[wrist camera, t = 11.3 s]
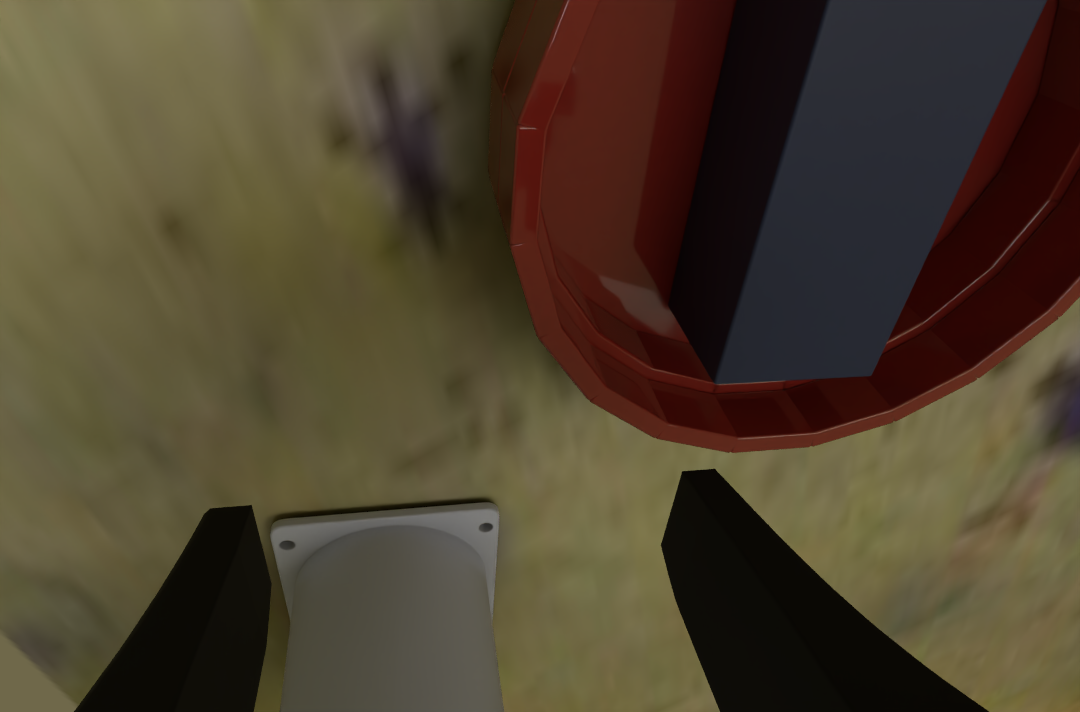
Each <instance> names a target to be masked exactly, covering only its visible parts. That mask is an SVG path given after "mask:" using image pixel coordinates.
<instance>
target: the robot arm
mask: <svg viewBox="0 0 1080 712" xmlns="http://www.w3.org/2000/svg"><path fill="white" fill-rule="evenodd" d="M499 517H500V516H499V510H498V507H497V506H496V505H495V504H493V503H490V502H481V503H469V504H457V505H445V506H433V507H421V508H408V509H396V510H384V511H372V512H360V513H348V514H336V515H324V516H312V517H299V518H287V519H281V520H278V521H276V522H274V523H273V525H272V526H271V532H270V538H271V542H272V546H273V551H274V555H275V559H276V563H277V567H278V571H279V576H280V580H281V584H282V588H283V592H284V597H285V601H286V605H287V609H288V613H289V617H290V630H289V639H288V647H287V656H286V664H285V673H284V681H283V690H282V698H281V706H280V712H504V707H503V700H502V692H501V685H500V678H499V670H498V663H497V655H496V648H495V640H494V633H493V625H492V621H493V606H494V591H495V576H496V561H497V547H498V532H499ZM484 523H486V524H484ZM661 547H662V551H663V555H664V559H665V563H666V567H667V571H668V575H669V578H670V582H671V586H672V589H673V593H674V596H675V600H676V602H677V605H678V608H679V610H680V613H681V615H682V618H683V620H684V623H685V626H686V628H687V631H688V633H689V636H690V638H691V641H692V643H693V646H694V648H695V651H696V653H697V656H698V658H699V661H700V663H701V666H702V668H703V670H704V673H705V675H706V678H707V680H708V683H709V685H710V688H711V690H712V693H713V695H714V698H715V700H716V703H717V705H718V708H719V710H720V712H989V711H987V710H986V709H984V708H983V707H982V706H980V705H979V704H977V703H976V702H975V701H973V700H972V699H970V698H969V697H967V696H966V695H965V694H963V693H962V692H960V691H959V690H957V689H956V688H955V687H953V686H952V685H950V684H949V683H948V682H946V681H945V680H943V679H942V678H941V677H939V676H938V675H937V674H935V673H934V672H933V671H931V670H930V669H929V668H927V667H926V666H925V665H923V664H922V663H921V662H919V661H918V660H917V659H916V658H914V657H913V656H912V655H911V654H909V653H908V652H907V651H906V650H904V649H903V648H902V647H901V646H899V645H898V644H897V643H896V642H894V641H893V640H892V639H890V638H889V637H888V636H887V635H885V634H884V633H883V632H882V631H881V630H879V629H878V628H877V627H876V626H875V625H873V624H872V623H871V622H870V621H869V620H867V619H866V618H865V617H864V616H863V615H862V614H861V613H859V612H858V611H857V610H856V609H855V608H854V607H853V606H852V605H851V604H849V603H848V602H847V601H846V600H845V599H844V598H843V597H842V596H840V595H839V594H838V593H837V592H836V591H835V590H834V589H833V588H832V587H831V586H830V585H828V584H827V583H826V582H825V581H824V580H823V579H822V578H821V577H820V576H819V575H818V574H817V573H816V572H815V571H814V570H813V569H812V568H811V567H810V566H809V565H808V564H807V563H806V562H805V561H804V560H803V559H802V558H801V557H799V556H798V555H797V554H796V553H795V552H794V551H793V550H792V549H791V548H790V547H789V546H788V545H787V544H786V543H785V542H784V541H783V540H782V539H781V538H780V537H779V536H778V535H777V534H776V533H775V531H774V530H773V529H772V528H771V527H770V526H769V525H768V524H767V523H766V522H765V521H764V520H763V519H762V518H761V517H760V516H759V515H758V514H757V513H756V512H755V511H754V510H753V509H752V508H751V506H750V505H749V504H748V503H747V502H746V501H745V500H744V499H743V498H742V497H741V496H740V495H739V494H738V493H737V492H736V491H735V490H734V489H733V488H732V486H731V485H730V484H729V483H728V482H727V481H726V480H725V479H724V478H723V477H722V476H721V475H720V474H719V473H718V472H717V471H716V470H715V469H708V470H695V471H682V475H681V478H680V481H679V485H678V488H677V492H676V495H675V499H674V502H673V506H672V509H671V512H670V516H669V519H668V523H667V526H666V530H665V533H664V537H663V540H662V543H661ZM270 597H271V580H270V576H269V572H268V568H267V564H266V560H265V556H264V552H263V548H262V544H261V540H260V536H259V532H258V528H257V524H256V521H255V517H254V513H253V509H252V505H249V506H236V507H223V508H210V509H209V510H208V511H207V512H206V513H205V514H204V515H203V517H202V519H201V521H200V523H199V524H198V526H197V528H196V530H195V532H194V533H193V535H192V537H191V539H190V540H189V542H188V544H187V545H186V547H185V549H184V551H183V552H182V554H181V556H180V557H179V559H178V561H177V562H176V564H175V566H174V567H173V569H172V571H171V572H170V574H169V575H168V577H167V579H166V580H165V582H164V583H163V585H162V587H161V588H160V590H159V591H158V593H157V595H156V596H155V598H154V599H153V601H152V602H151V604H150V605H149V607H148V608H147V610H146V611H145V613H144V614H143V616H142V617H141V619H140V620H139V622H138V623H137V625H136V626H135V628H134V629H133V631H132V632H131V634H130V635H129V637H128V638H127V640H126V641H125V643H124V644H123V646H122V647H121V648H120V650H119V651H118V653H117V654H116V655H115V657H114V658H113V659H112V661H111V662H110V664H109V665H108V666H107V668H106V669H105V670H104V672H103V673H102V675H101V676H100V677H99V679H98V680H97V681H96V683H95V684H94V685H93V687H92V688H91V690H90V691H89V692H88V694H87V695H86V696H85V698H84V699H83V701H82V702H81V703H80V705H79V706H78V707H77V708H76V710H75V711H74V712H254V707H255V702H256V697H257V692H258V687H259V682H260V676H261V671H262V666H263V661H264V656H265V651H266V644H267V633H268V622H269V610H270Z"/></svg>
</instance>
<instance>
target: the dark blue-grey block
mask: <svg viewBox="0 0 1080 712" xmlns="http://www.w3.org/2000/svg"><path fill="white" fill-rule="evenodd" d="M1046 2H1047V0H737V2H736V7H735V11H734V16H733V20H732V24H731V29H730V33H729V38H728V42H727V47H726V51H725V56H724V60H723V64H722V69H721V73H720V78H719V82H718V87H717V91H716V95H715V100H714V104H713V109H712V113H711V118H710V122H709V126H708V131H707V135H706V140H705V144H704V149H703V153H702V157H701V162H700V166H699V171H698V175H697V180H696V184H695V188H694V193H693V197H692V202H691V206H690V211H689V215H688V219H687V224H686V228H685V233H684V237H683V242H682V246H681V250H680V255H679V259H678V264H677V268H676V273H675V277H674V281H673V286H672V290H671V295H670V299H669V304H668V306H669V308H670V310H671V312H672V313H673V315H674V317H675V318H676V320H677V322H678V324H679V325H680V327H681V329H682V330H683V332H684V334H685V335H686V337H687V339H688V341H689V342H690V344H691V346H692V347H693V349H694V351H695V352H696V354H697V356H698V358H699V359H700V361H701V363H702V364H703V366H704V368H705V369H706V371H707V373H708V375H709V376H710V378H711V380H712V381H713V383H714V384H734V383H753V382H771V381H790V380H808V379H827V378H846V377H864V376H871V375H872V373H873V371H874V369H875V367H876V365H877V363H878V361H879V358H880V356H881V354H882V352H883V350H884V348H885V346H886V344H887V341H888V339H889V337H890V335H891V333H892V331H893V329H894V326H895V324H896V322H897V320H898V318H899V316H900V314H901V311H902V309H903V307H904V305H905V303H906V301H907V299H908V297H909V294H910V292H911V290H912V288H913V286H914V284H915V282H916V279H917V277H918V275H919V273H920V271H921V269H922V267H923V265H924V262H925V260H926V258H927V256H928V254H929V252H930V250H931V247H932V245H933V243H934V241H935V239H936V237H937V235H938V232H939V230H940V228H941V226H942V224H943V222H944V220H945V218H946V215H947V213H948V211H949V209H950V207H951V205H952V203H953V200H954V198H955V196H956V194H957V192H958V190H959V188H960V186H961V183H962V181H963V179H964V177H965V175H966V173H967V171H968V168H969V166H970V164H971V162H972V160H973V158H974V156H975V153H976V151H977V149H978V147H979V145H980V143H981V141H982V139H983V136H984V134H985V132H986V130H987V128H988V126H989V124H990V121H991V119H992V117H993V115H994V113H995V111H996V109H997V107H998V104H999V102H1000V100H1001V98H1002V96H1003V94H1004V92H1005V89H1006V87H1007V85H1008V83H1009V81H1010V79H1011V77H1012V74H1013V72H1014V70H1015V68H1016V66H1017V64H1018V62H1019V60H1020V57H1021V55H1022V53H1023V51H1024V49H1025V47H1026V45H1027V42H1028V40H1029V38H1030V36H1031V34H1032V32H1033V30H1034V28H1035V25H1036V23H1037V21H1038V19H1039V17H1040V15H1041V13H1042V10H1043V8H1044V6H1045V4H1046Z"/></svg>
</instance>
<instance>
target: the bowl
mask: <svg viewBox="0 0 1080 712" xmlns="http://www.w3.org/2000/svg"><path fill="white" fill-rule="evenodd" d="M736 2H737V0H515V2H514V5H513V8H512V11H511V14H510V17H509V20H508V22H507V25H506V28H505V31H504V34H503V37H502V40H501V43H500V45H499V48H498V51H497V54H496V57H495V60H494V63H493V69H492V71H491V99H490V127H489V155H488V173H489V178H490V182H491V185H492V189H493V192H494V195H495V199H496V202H497V205H498V209H499V212H500V216H501V219H502V222H503V226H504V229H505V233H506V236H507V239H508V243H509V246H510V250H511V253H512V256H513V259H514V263H515V266H516V269H517V273H518V276H519V279H520V283H521V286H522V289H523V293H524V296H525V299H526V303H527V306H528V309H529V312H530V316H531V319H532V322H533V326H534V329H535V332H536V336H537V337H538V339H539V340H540V341H541V343H542V344H543V345H544V346H545V348H546V349H547V350H548V351H549V353H550V354H551V355H552V356H553V357H554V359H555V360H556V361H557V362H558V364H559V365H560V366H561V367H562V369H563V370H564V371H565V372H566V374H567V375H568V376H569V377H570V378H571V380H572V381H573V382H574V383H575V385H576V386H577V387H578V388H579V390H580V391H581V392H582V393H583V395H584V396H585V397H586V398H587V399H588V400H590V402H591V403H593V404H595V405H597V406H599V407H600V408H602V409H604V410H606V411H607V412H609V413H611V414H613V415H614V416H616V417H618V418H620V419H622V420H623V421H625V422H627V423H629V424H630V425H632V426H634V427H636V428H637V429H639V430H641V431H643V432H645V433H646V434H648V435H650V436H652V437H653V438H657V439H660V440H665V441H671V442H676V443H681V444H686V445H691V446H697V447H702V448H707V449H712V450H718V451H723V452H728V453H729V452H732V453H737V452H751V451H764V450H778V449H791V448H805V447H810V446H816V445H820V444H823V443H826V442H830V441H833V440H836V439H840V438H843V437H846V436H850V435H853V434H856V433H860V432H863V431H866V430H870V429H873V428H877V427H880V426H883V425H887V424H890V423H892V422H893V421H898V420H900V419H902V418H904V417H906V416H907V415H909V414H911V413H913V412H915V411H917V410H919V409H921V408H923V407H925V406H927V405H929V404H931V403H933V402H935V401H937V400H939V399H941V398H942V397H944V396H946V395H948V394H950V393H952V392H954V391H956V390H958V389H960V388H962V387H964V386H966V385H968V384H970V383H972V382H974V381H976V380H977V378H980V377H981V376H983V375H984V374H985V373H987V372H988V371H989V370H991V369H992V368H993V367H995V366H996V365H997V364H999V363H1000V362H1001V361H1003V360H1004V359H1005V358H1007V357H1008V356H1009V355H1011V354H1012V353H1013V352H1015V351H1016V350H1017V349H1019V348H1020V347H1021V346H1023V345H1024V344H1025V343H1027V342H1028V341H1029V340H1031V339H1032V338H1033V337H1035V336H1036V335H1037V334H1039V333H1040V332H1041V331H1043V330H1044V329H1045V328H1047V327H1048V326H1049V325H1051V324H1052V323H1053V322H1055V321H1056V320H1057V319H1058V317H1060V316H1062V315H1063V314H1064V313H1065V312H1066V311H1067V310H1068V309H1069V308H1070V306H1071V305H1072V304H1073V303H1074V302H1075V301H1076V300H1077V299H1078V298H1079V297H1080V0H1047V2H1046V4H1045V6H1044V8H1043V10H1042V13H1041V15H1040V17H1039V19H1038V21H1037V23H1036V25H1035V28H1034V30H1033V32H1032V34H1031V36H1030V38H1029V40H1028V42H1027V45H1026V47H1025V49H1024V51H1023V53H1022V55H1021V57H1020V60H1019V62H1018V64H1017V66H1016V68H1015V70H1014V72H1013V74H1012V77H1011V79H1010V81H1009V83H1008V85H1007V87H1006V89H1005V92H1004V94H1003V96H1002V98H1001V100H1000V102H999V104H998V107H997V109H996V111H995V113H994V115H993V117H992V119H991V121H990V124H989V126H988V128H987V130H986V132H985V134H984V136H983V139H982V141H981V143H980V145H979V147H978V149H977V151H976V153H975V156H974V158H973V160H972V162H971V164H970V166H969V168H968V171H967V173H966V175H965V177H964V179H963V181H962V183H961V186H960V188H959V190H958V192H957V194H956V196H955V198H954V200H953V203H952V205H951V207H950V209H949V211H948V213H947V215H946V218H945V220H944V222H943V224H942V226H941V228H940V230H939V232H938V235H937V237H936V239H935V241H934V243H933V245H932V247H931V250H930V252H929V254H928V256H927V258H926V260H925V262H924V265H923V267H922V269H921V271H920V273H919V275H918V277H917V279H916V282H915V284H914V286H913V288H912V290H911V292H910V294H909V297H908V299H907V301H906V303H905V305H904V307H903V309H902V311H901V314H900V316H899V318H898V320H897V322H896V324H895V326H894V329H893V331H892V333H891V335H890V337H889V339H888V341H887V344H886V346H885V348H884V350H883V352H882V354H881V356H880V358H879V361H878V363H877V365H876V367H875V369H874V371H873V373H872V375H871V376H864V377H846V378H827V379H808V380H790V381H771V382H753V383H734V384H714V383H713V381H712V380H711V378H710V376H709V375H708V373H707V371H706V369H705V368H704V366H703V364H702V363H701V361H700V359H699V358H698V356H697V354H696V352H695V351H694V349H693V347H692V346H691V344H690V342H689V341H688V339H687V337H686V335H685V334H684V332H683V330H682V329H681V327H680V325H679V324H678V322H677V320H676V318H675V317H674V315H673V313H672V312H671V310H670V308H669V306H668V304H669V299H670V295H671V290H672V286H673V281H674V277H675V273H676V268H677V264H678V259H679V255H680V250H681V246H682V242H683V237H684V233H685V228H686V224H687V219H688V215H689V211H690V206H691V202H692V197H693V193H694V188H695V184H696V180H697V175H698V171H699V166H700V162H701V157H702V153H703V149H704V144H705V140H706V135H707V131H708V126H709V122H710V118H711V113H712V109H713V104H714V100H715V95H716V91H717V87H718V82H719V78H720V73H721V69H722V64H723V60H724V56H725V51H726V47H727V42H728V38H729V33H730V29H731V24H732V20H733V16H734V11H735V7H736Z"/></svg>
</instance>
